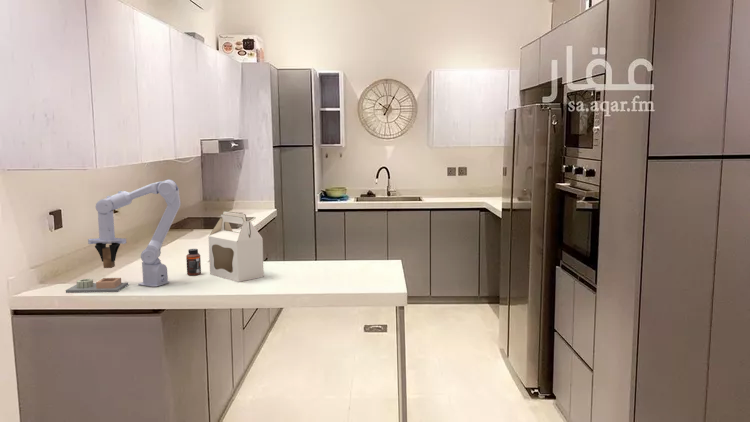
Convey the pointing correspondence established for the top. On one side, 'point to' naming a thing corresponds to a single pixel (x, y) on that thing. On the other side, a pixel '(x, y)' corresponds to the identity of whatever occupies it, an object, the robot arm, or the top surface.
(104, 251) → the square bit
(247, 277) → the gable box
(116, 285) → the socket block
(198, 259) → the supplement bottle
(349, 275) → the top surface
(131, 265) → the top surface
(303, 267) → the top surface
